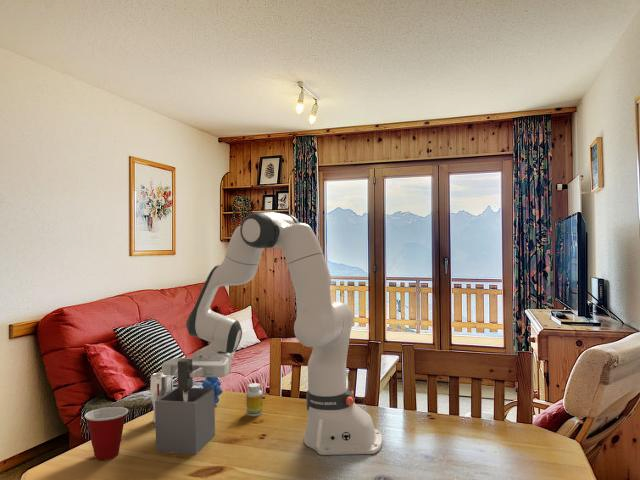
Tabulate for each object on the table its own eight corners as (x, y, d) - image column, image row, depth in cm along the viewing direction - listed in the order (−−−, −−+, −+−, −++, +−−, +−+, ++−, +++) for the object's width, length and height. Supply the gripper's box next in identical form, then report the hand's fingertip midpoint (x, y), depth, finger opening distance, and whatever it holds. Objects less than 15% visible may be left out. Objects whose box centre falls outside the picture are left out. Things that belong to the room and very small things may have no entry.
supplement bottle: (246, 411, 149) (245, 383, 149) (262, 409, 150) (261, 381, 150) (247, 417, 144) (246, 388, 144) (263, 415, 145) (262, 386, 145)
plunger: (208, 430, 129) (206, 356, 130) (193, 445, 120) (192, 365, 121) (179, 429, 131) (178, 355, 131) (163, 442, 122) (161, 364, 122)
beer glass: (159, 426, 138) (158, 379, 138) (146, 421, 142) (145, 375, 142) (178, 419, 143) (177, 373, 143) (165, 414, 148) (164, 370, 148)
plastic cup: (138, 449, 123) (137, 406, 123) (107, 468, 113) (106, 421, 113) (108, 444, 126) (107, 402, 127) (75, 461, 116) (74, 416, 116)
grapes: (214, 414, 147) (214, 378, 147) (196, 413, 148) (196, 377, 148) (230, 402, 158) (229, 369, 158) (213, 401, 160) (212, 368, 160)
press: (215, 435, 131) (214, 388, 131) (196, 454, 119) (195, 403, 119) (178, 433, 133) (177, 387, 133) (155, 451, 121) (154, 401, 121)
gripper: (175, 351, 141) (150, 362, 127) (235, 353, 137) (216, 365, 123) (175, 371, 141) (150, 384, 127) (235, 373, 137) (216, 387, 123)
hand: (183, 375), depth 125 cm, fingers closed on plunger, 3 cm apart
